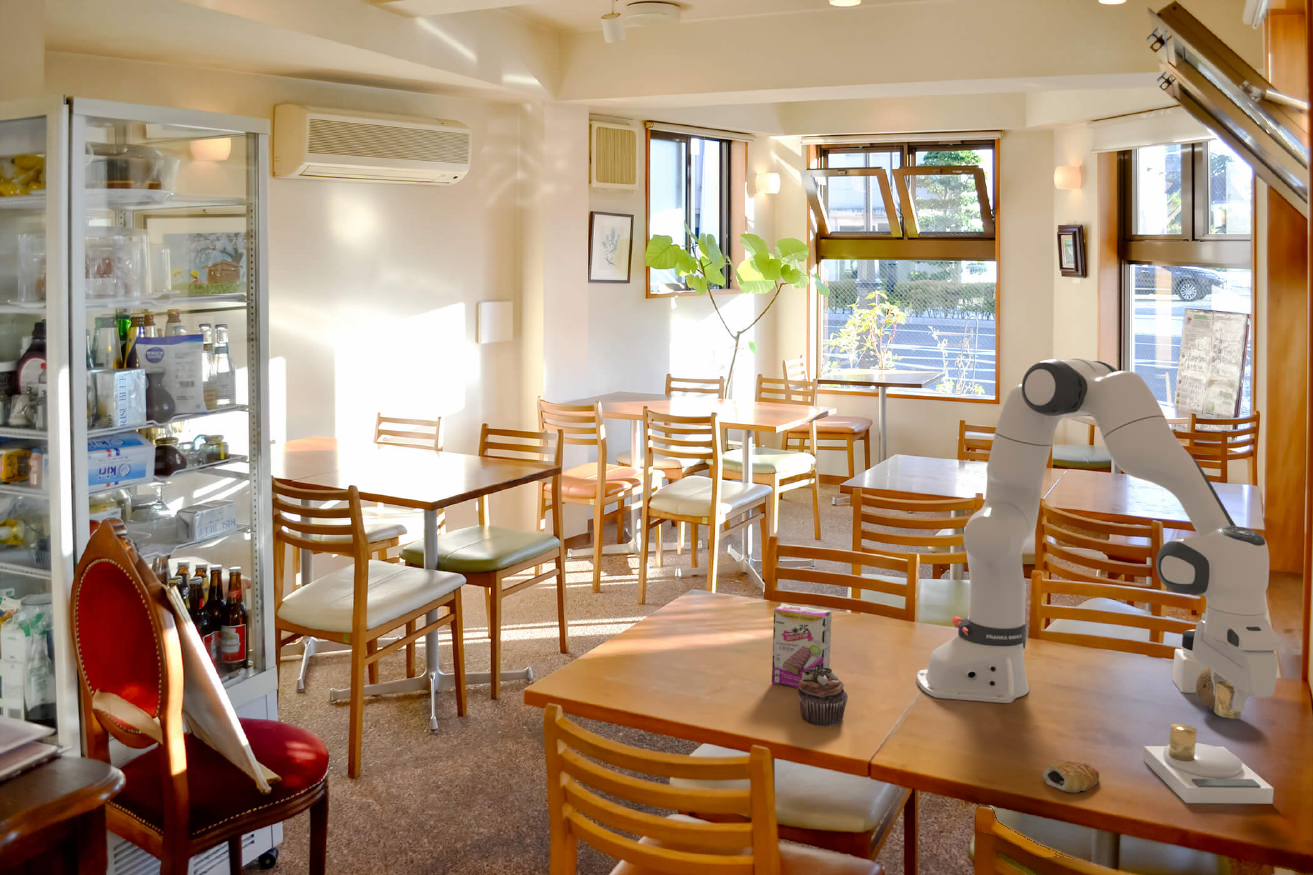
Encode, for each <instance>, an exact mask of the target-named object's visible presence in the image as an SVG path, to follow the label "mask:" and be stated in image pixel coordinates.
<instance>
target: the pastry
mask: <svg viewBox="0 0 1313 875" xmlns="http://www.w3.org/2000/svg"><path fill="white" fill-rule="evenodd" d="M1041 776H1042V779H1043V780H1044V782H1045V783H1046V784H1047V785H1049V786H1051V787H1053V788H1056V789H1058V790H1060V791H1062V792H1064V791H1065V792H1066V793H1069V794H1070V793H1071V794H1075V793H1080V791H1083V792H1085V791H1088V790H1090V789H1092V788H1093V787H1094V786H1096V785H1098V783H1099V779H1100V773H1099V770H1097V769H1096V768H1094V767H1093V766H1091V765H1090V764H1088V763H1081V762H1079V761H1078V762H1077V761H1069V760H1060V761H1056V762H1052V763H1051V764H1050V765H1048V766H1047V767H1046V768H1045V770H1044V771H1043V772H1042V774H1041Z"/></svg>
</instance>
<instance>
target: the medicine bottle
mask: <svg viewBox="0 0 1313 875" xmlns="http://www.w3.org/2000/svg"><path fill="white" fill-rule="evenodd" d="M1195 630H1196V629H1189V630H1185V631H1184V632H1183V633H1182V641H1181V648H1175V649H1174V658H1173V672H1172V681H1173V683H1174V684H1175V686H1176V687H1177V688H1178V690H1179V691H1180V693H1182V692H1183V693H1185V694H1196V682H1197V679H1198V677H1199V675H1200V674H1201V673H1202V672H1203V671H1204V670H1205V669H1207V668H1208V667H1207V666H1205V665H1204V664H1202V663H1201V662H1199V661H1198V660H1197V659H1195V658H1194V655H1193V642H1194V636H1195Z"/></svg>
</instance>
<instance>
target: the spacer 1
mask: <svg viewBox="0 0 1313 875" xmlns="http://www.w3.org/2000/svg"><path fill="white" fill-rule="evenodd" d="M1169 731H1170V732H1169V744H1168V745H1169V756H1170V757H1171V758H1173V759H1176V760H1179V761H1186V762H1189V761H1193V760H1194V758H1195V745H1196V743H1197V728H1196V727H1193V726H1192V725H1190V724H1189V725H1188V724H1185V723H1184V724H1183V723H1173V724H1171V725H1170V730H1169Z"/></svg>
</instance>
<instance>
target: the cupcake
mask: <svg viewBox="0 0 1313 875" xmlns="http://www.w3.org/2000/svg"><path fill="white" fill-rule="evenodd" d="M823 669H824V670H826V671H824V670H823ZM844 686H845V685H844V682H843V681H842V680H841V679H840V678H839V677H838V675H837V674H836V673H834V672H833V671H832V669H831V668H830V667H829V668H822V667H821V666H820V665H816V667H815V668H814V669H812V670H805V671H804V672H803V674H802V679H801V680H800V682H799V687H798V688H797V690H796V694H797V698H798V702H799V706H800V707H799V708H800V714H801V719H802V720H803V721H804V722H806V723H808V724H811V725H813V726H817V727H818V726H819V727H830V726H836V725H839V724H841V723H842V722H843V720H844V714H845V710H846V706H847V703H848V698H849V696H848V693H847V691H845V690H844Z"/></svg>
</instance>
